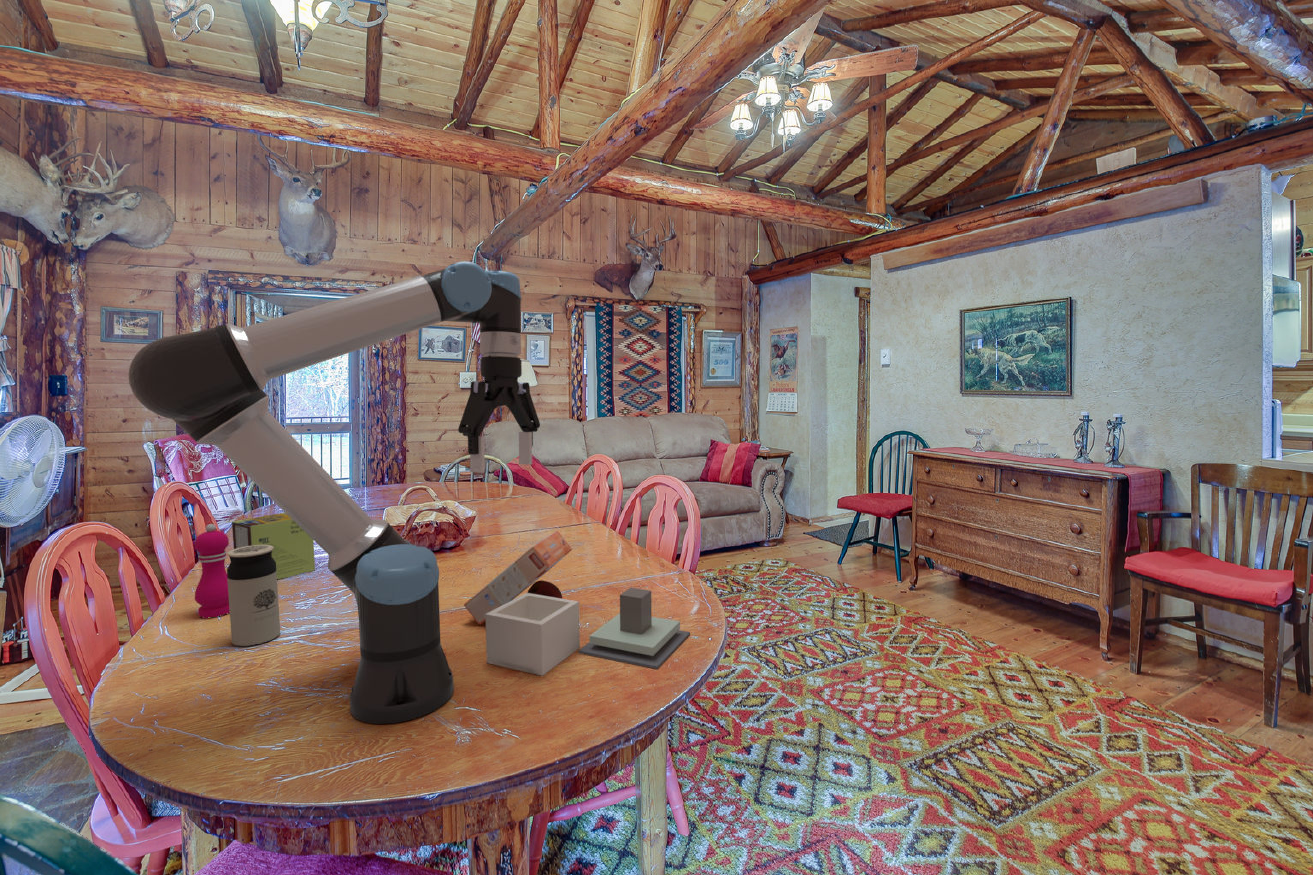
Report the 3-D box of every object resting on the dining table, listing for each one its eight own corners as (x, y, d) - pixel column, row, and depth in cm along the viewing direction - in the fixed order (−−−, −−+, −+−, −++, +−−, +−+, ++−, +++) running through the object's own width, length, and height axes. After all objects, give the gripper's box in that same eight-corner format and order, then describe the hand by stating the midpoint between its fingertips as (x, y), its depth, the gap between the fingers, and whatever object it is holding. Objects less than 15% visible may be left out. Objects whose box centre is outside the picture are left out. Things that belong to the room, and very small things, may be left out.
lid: (653, 661, 105) (652, 609, 104) (589, 648, 110) (588, 599, 110) (680, 633, 117) (680, 586, 116) (621, 623, 122) (621, 578, 122)
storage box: (542, 675, 101) (541, 624, 100) (486, 662, 106) (485, 614, 105) (579, 647, 112) (578, 601, 111) (527, 637, 117) (526, 592, 116)
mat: (657, 669, 103) (657, 666, 103) (578, 652, 110) (578, 650, 110) (690, 634, 118) (690, 631, 118) (619, 621, 124) (619, 619, 124)
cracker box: (479, 627, 123) (550, 567, 118) (461, 605, 123) (531, 544, 119) (509, 603, 136) (574, 549, 132) (493, 583, 137) (557, 528, 132)
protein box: (316, 570, 161) (313, 514, 160) (253, 586, 148) (249, 525, 147) (296, 564, 167) (293, 510, 166) (234, 579, 154) (230, 521, 153)
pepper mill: (240, 612, 131) (234, 523, 129) (199, 622, 126) (193, 529, 124) (232, 604, 136) (226, 518, 134) (192, 613, 131) (186, 524, 129)
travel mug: (226, 639, 117) (220, 550, 115) (272, 627, 123) (267, 542, 121) (239, 651, 112) (233, 557, 110) (286, 637, 118) (281, 548, 116)
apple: (524, 613, 130) (523, 577, 129) (559, 608, 132) (558, 573, 131) (528, 626, 123) (527, 588, 122) (565, 620, 125) (564, 584, 124)
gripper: (468, 351, 99) (470, 477, 101) (556, 359, 121) (557, 462, 123) (435, 352, 102) (438, 474, 104) (527, 360, 125) (528, 460, 126)
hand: (502, 468), depth 113 cm, fingers open, 13 cm apart
